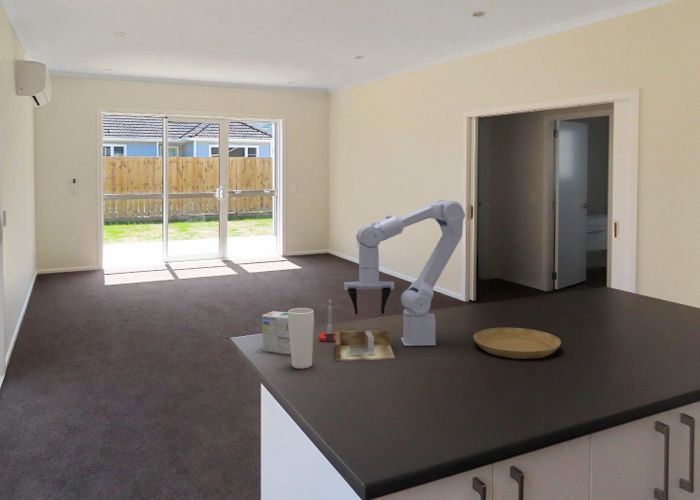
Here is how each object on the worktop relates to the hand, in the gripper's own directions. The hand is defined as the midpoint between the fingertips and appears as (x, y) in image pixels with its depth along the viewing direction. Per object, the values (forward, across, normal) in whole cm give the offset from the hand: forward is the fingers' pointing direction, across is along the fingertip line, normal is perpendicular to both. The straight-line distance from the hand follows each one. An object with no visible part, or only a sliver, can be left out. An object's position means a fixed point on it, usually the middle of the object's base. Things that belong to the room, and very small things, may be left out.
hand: (369, 313), depth 168 cm
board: (+10, +2, +6) cm, 12 cm away
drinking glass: (+10, +19, +17) cm, 27 cm away
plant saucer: (+10, -42, +5) cm, 44 cm away
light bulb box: (+10, +25, +2) cm, 27 cm away
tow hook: (+10, +11, -10) cm, 18 cm away
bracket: (+9, +3, +7) cm, 12 cm away
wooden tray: (+10, +2, +6) cm, 12 cm away
